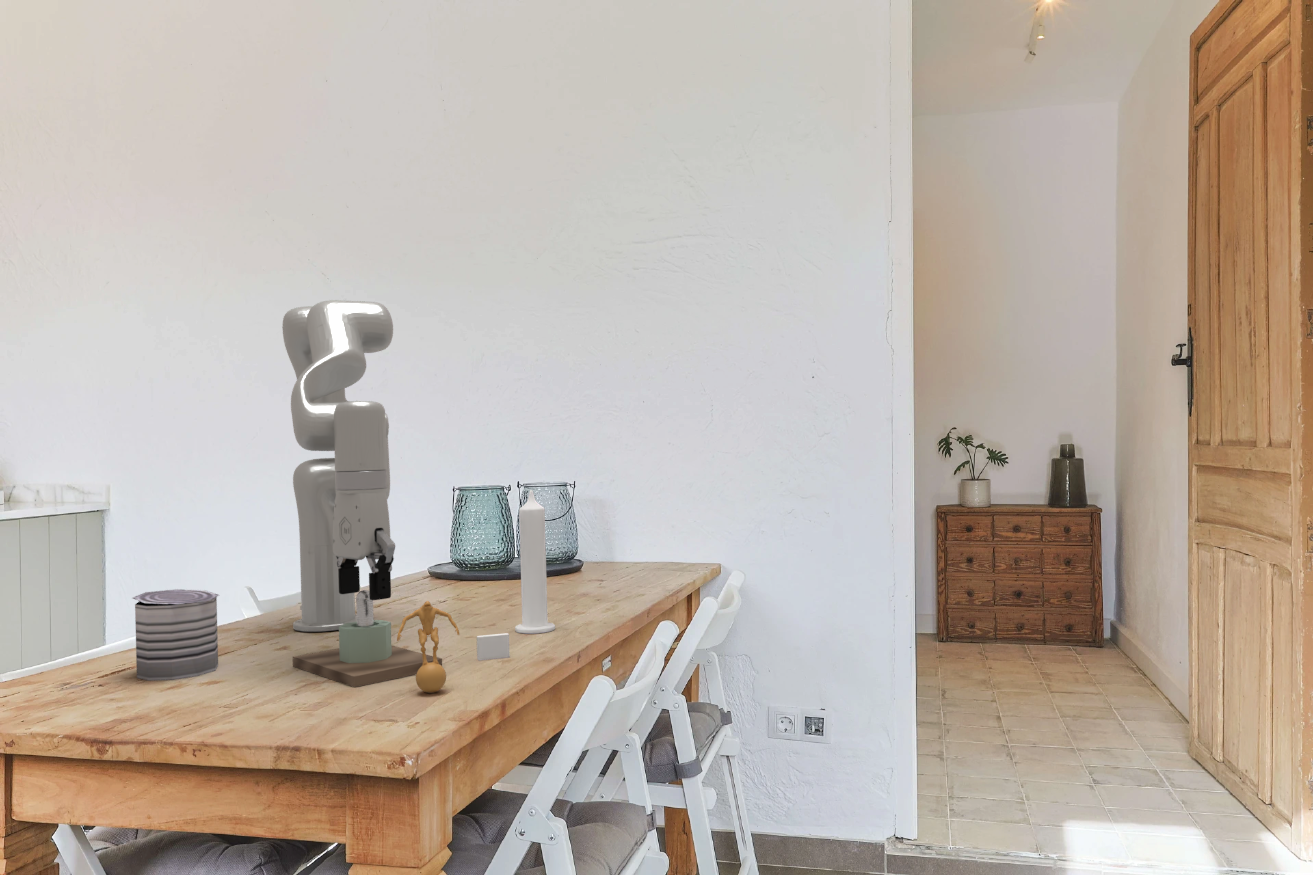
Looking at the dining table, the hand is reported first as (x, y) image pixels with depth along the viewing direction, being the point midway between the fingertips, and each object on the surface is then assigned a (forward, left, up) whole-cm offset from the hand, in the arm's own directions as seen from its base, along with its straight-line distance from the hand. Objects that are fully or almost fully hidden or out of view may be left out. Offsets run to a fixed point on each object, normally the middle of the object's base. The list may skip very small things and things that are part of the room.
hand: (364, 595), depth 144 cm
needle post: (0, 0, -9) cm, 9 cm away
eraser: (+10, +16, -11) cm, 22 cm away
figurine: (+20, -1, -11) cm, 23 cm away
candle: (-3, +34, -11) cm, 36 cm away
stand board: (0, 0, -11) cm, 11 cm away
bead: (0, 0, -9) cm, 9 cm away
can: (-21, -20, -11) cm, 31 cm away
